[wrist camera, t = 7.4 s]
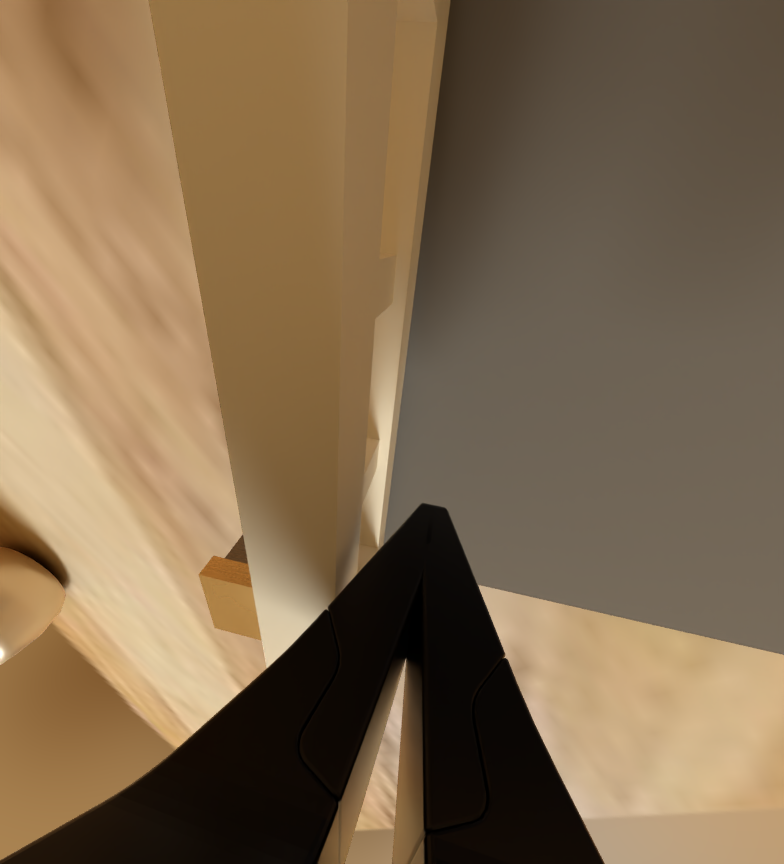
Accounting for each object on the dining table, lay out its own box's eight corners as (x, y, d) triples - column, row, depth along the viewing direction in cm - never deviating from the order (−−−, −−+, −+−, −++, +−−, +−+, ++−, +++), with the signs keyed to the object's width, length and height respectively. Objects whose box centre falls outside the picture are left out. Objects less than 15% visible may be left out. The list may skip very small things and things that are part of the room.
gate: (369, -72, 6) (-134, -1592, 1) (459, -71, 6) (387, -1926, 1) (345, 539, 14) (274, 711, 9) (382, 548, 14) (332, 729, 9)
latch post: (297, 451, 14) (198, 574, 9) (354, 463, 13) (287, 596, 8) (299, 497, 15) (214, 627, 10) (353, 509, 15) (292, 648, 10)
